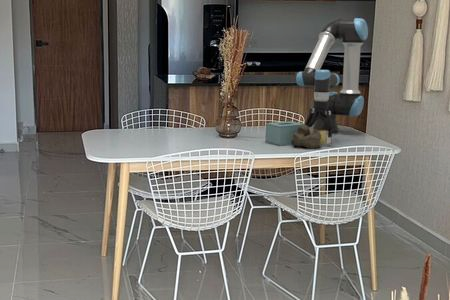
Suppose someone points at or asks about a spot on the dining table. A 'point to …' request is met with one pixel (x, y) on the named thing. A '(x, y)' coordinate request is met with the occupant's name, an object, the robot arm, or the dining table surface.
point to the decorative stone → (306, 137)
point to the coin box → (281, 132)
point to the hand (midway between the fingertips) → (319, 141)
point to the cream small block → (323, 134)
